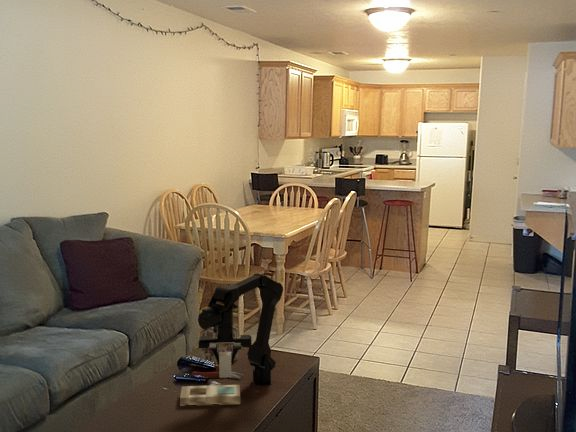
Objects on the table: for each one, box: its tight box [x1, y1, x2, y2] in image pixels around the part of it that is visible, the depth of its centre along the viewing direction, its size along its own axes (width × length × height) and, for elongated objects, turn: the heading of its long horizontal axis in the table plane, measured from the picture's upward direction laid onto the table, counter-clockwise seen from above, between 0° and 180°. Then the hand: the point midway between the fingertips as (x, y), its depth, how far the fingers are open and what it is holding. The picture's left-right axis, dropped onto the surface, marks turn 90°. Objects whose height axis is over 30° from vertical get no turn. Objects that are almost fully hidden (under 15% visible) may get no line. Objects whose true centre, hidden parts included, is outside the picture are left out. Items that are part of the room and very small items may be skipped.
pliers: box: [191, 366, 245, 380], centre depth 244 cm, size 12×20×3 cm, turn 71°
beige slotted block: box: [179, 384, 241, 407], centre depth 221 cm, size 21×10×3 cm, turn 96°
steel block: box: [218, 352, 232, 379], centre depth 220 cm, size 4×4×8 cm
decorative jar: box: [199, 324, 239, 366], centre depth 258 cm, size 12×12×18 cm
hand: (225, 364), depth 220 cm, fingers closed on steel block, 4 cm apart
